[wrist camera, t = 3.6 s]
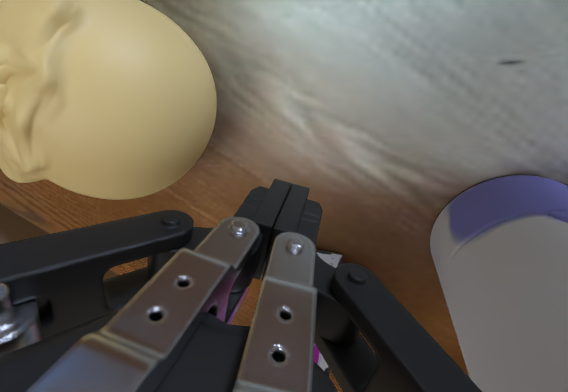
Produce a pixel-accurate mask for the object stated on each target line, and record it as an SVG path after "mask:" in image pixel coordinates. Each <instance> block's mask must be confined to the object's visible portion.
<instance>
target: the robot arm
mask: <svg viewBox="0 0 568 392" xmlns="http://www.w3.org/2000/svg"><path fill="white" fill-rule="evenodd" d="M291 186H292V187H291ZM309 190H310V188H307V187H303V186H300V185H296V184H293V185H292V183H289V182H285V181H282V180H278V179H275V180H274V181H273V183H272V185H271V187H270V188H269V189H268V188H264V187H261V186H259V187H257V188H255V189H253V190H251V192H250V193H249V195H248V196H247V197H246V199H245V200H244V202H243V203H242V205H241V206H240V208H239V209H238V211H237V212H236V213H235V215H234V216H233V217H227V218H225V219H223V220H221V221H220V222H219V223H218V224H217V225H216V227H215V228H201V227H193V219H192V218H191V217H190V216H189V215H188V214H186V213H184V212H181V211H175V210H165V211H159V212H155V213H150V214H145V215H140V216H135V217H130V218H126V219H121V220H116V221H111V222H106V223H101V224H97V225H92V226H87V227H82V228H77V229H73V230H68V231H63V232H58V233H53V234H48V235H44V236H39V237H34V238H29V239H24V240H20V241H15V242H10V243H5V244H0V392H338V391H337V389H336V388H335V386H334V384H333V382H332V381H331V380H330V378H329V377H328V375H327V374H326V373H325V372H324V371H323V369H322V368H321V367H320V366H319V365H318V364H317V363H316V362H315V361H313V359H314V343H315V345H316V346H317V348H318V350H319V351H320V353H321V355H322V356H323V358H324V360H325V361H326V363H327V365H328V367H329V368H330V370H331V372H332V373H333V375H334V377H335V378H336V380H337V382H338V383H339V385H340V387H341V388H342V390H343V392H482V391H481V390H480V389H479V388H478V387H477V385H476V384H475V383H474V382H473V381H472V380H471V379H470V378H469V377H468V376H467V375H466V374H465V372H464V371H463V370H462V369H461V368H460V367H459V366H458V365H457V364H456V363H455V362H454V361H453V359H452V358H451V357H450V356H449V355H448V354H447V353H446V352H445V351H444V350H443V349H442V348H441V347H440V345H439V344H438V343H437V342H436V341H435V340H434V339H433V338H432V337H431V336H430V335H429V334H428V332H427V331H426V330H425V329H424V328H423V327H422V326H421V325H420V324H419V323H418V322H417V321H416V319H415V318H414V317H413V316H412V315H411V314H410V313H409V312H408V311H407V310H406V309H405V308H404V306H403V305H402V304H401V303H400V302H399V301H398V300H397V299H396V298H395V297H394V296H393V295H392V293H391V292H390V291H389V290H388V289H387V288H386V287H385V286H384V285H383V284H382V283H381V282H380V281H379V279H378V278H377V277H376V276H375V275H374V274H373V273H372V272H371V271H369V270H368V269H366V268H365V267H363V266H360V265H358V264H354V263H343V264H340V265H338V266H337V267H336V268H335V267H333V266H331V265H329V264H328V263H326V262H325V261H323V260H322V259H321V258H320V257H319V255H318V254H317V252H316V247H315V245H316V240H317V235H318V230H319V225H320V220H321V216H322V211H323V210H322V208H321V206H320V204H319V203H318V202H314V201H311V200H307V197H308V193H309ZM145 257H148V267H145V268H142V269H139V270H135V271H132V272H129V273H126V274H123V275H119V276H116V277H113V278H110V279H106V280H103V276H104V274H105V273H106V272H107V271H108V270H109V269H110V268H112V267H114V266H117V265H121V264H124V263H128V262H131V261H134V260H138V259H141V258H145ZM263 271H264V273H263ZM262 273H263V277H262V280H263V283H262V286H261V290H260V294H259V297H258V301H257V305H256V308H255V312H254V316H253V319H252V323H251V327H249V326H238V325H230V323H231V321H232V320H233V318H234V316H235V314H236V312H237V311H238V309H239V307H240V305H241V303H242V302H243V300H244V298H245V296H246V294H247V290H248V286H249V285H250V284H251V281H252V279H253V278H256V279H259V280H260V278H261V276H262ZM359 331H360V332H361V333H362V334H363V336H364V337H365V338H366V340H367V341H368V343H369V344H370V345H371V347H372V348H373V349H374V351H375V353H376V355H375V353H374V352H373V351H372V349H371V348H370V347H369V345H368V344H367V343H366V341H365V340H364V339H363V337H362V336H361V334H360V333H359Z"/></svg>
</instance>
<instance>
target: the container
mask: <svg viewBox="0 0 568 392" xmlns="http://www.w3.org/2000/svg"><path fill="white" fill-rule="evenodd" d="M430 250H431V255H432V258H433V261H434V264H435V267H436V271H437V274H438V277H439V280H440V284H441V287H442V290H443V293H444V296H445V300H446V303H447V306H448V309H449V312H450V316H451V319H452V322H453V325H454V329H455V332H456V335H457V338H458V341H459V345H460V348H461V351H462V354H463V357H464V361H465V364H466V367H467V370H468V373H469V377H470V379H471V380H472V381H473V382H474V383H475V384H476V385H477V387H478V388H479V389H480V390H481V391H482V392H568V186H566V185H564V184H562V183H560V182H557V181H555V180H551V179H548V178H544V177H538V176H528V175H517V176H507V177H501V178H496V179H492V180H489V181H486V182H483V183H481V184H478V185H476V186H474V187H472V188H470V189H468V190H466V191H464V192H463V193H461V194H460V195H458V196H457V197H456V198H454V199H453V200H452V201H451V202H450V203H449V204H448V205H447V206H446V207H445V208H444V209H443V210H442V212H441V213H440V215H439V216H438V218H437V219H436V221H435V223H434V226H433V228H432V232H431V236H430Z"/></svg>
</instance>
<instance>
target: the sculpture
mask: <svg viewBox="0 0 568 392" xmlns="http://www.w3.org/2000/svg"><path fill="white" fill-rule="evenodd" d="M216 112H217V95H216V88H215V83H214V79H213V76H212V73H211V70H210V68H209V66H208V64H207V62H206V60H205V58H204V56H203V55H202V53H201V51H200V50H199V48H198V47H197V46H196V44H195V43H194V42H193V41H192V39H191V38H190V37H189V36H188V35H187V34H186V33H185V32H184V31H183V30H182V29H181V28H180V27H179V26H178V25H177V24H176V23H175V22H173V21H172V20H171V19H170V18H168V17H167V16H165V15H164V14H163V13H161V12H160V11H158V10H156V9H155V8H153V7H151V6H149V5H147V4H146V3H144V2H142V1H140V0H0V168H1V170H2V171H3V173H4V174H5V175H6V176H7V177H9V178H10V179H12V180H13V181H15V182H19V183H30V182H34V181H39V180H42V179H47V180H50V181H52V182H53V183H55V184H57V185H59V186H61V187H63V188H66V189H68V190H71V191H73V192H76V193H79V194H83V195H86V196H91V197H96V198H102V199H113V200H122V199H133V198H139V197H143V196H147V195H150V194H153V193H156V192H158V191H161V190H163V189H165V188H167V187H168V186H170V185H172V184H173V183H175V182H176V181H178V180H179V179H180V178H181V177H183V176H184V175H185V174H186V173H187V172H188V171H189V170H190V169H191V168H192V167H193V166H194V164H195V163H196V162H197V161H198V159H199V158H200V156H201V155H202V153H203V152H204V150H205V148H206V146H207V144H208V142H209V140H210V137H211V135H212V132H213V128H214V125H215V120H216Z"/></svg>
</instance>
